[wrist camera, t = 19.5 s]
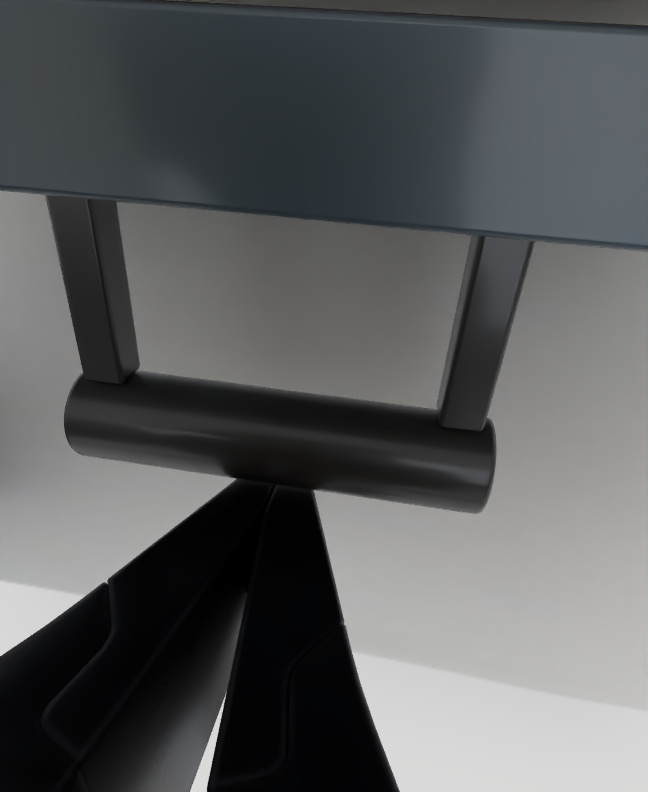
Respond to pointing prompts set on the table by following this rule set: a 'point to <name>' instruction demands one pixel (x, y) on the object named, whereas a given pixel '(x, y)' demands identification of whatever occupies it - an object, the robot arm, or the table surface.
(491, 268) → the drawer
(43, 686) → the robot arm
